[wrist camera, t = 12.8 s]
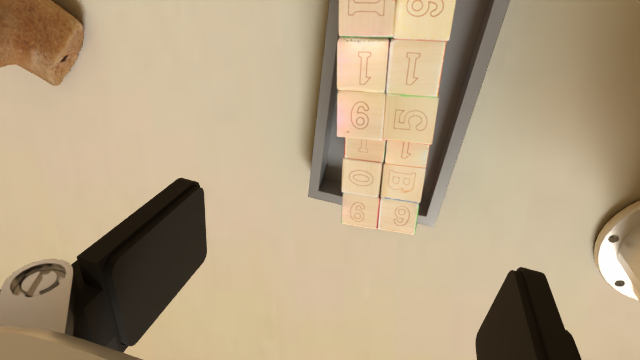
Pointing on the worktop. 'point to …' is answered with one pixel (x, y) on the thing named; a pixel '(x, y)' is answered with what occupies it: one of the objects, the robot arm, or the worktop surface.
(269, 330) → the worktop surface
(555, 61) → the worktop surface
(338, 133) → the stack of blocks
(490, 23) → the tray
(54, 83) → the brown suede boot
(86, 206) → the worktop surface
